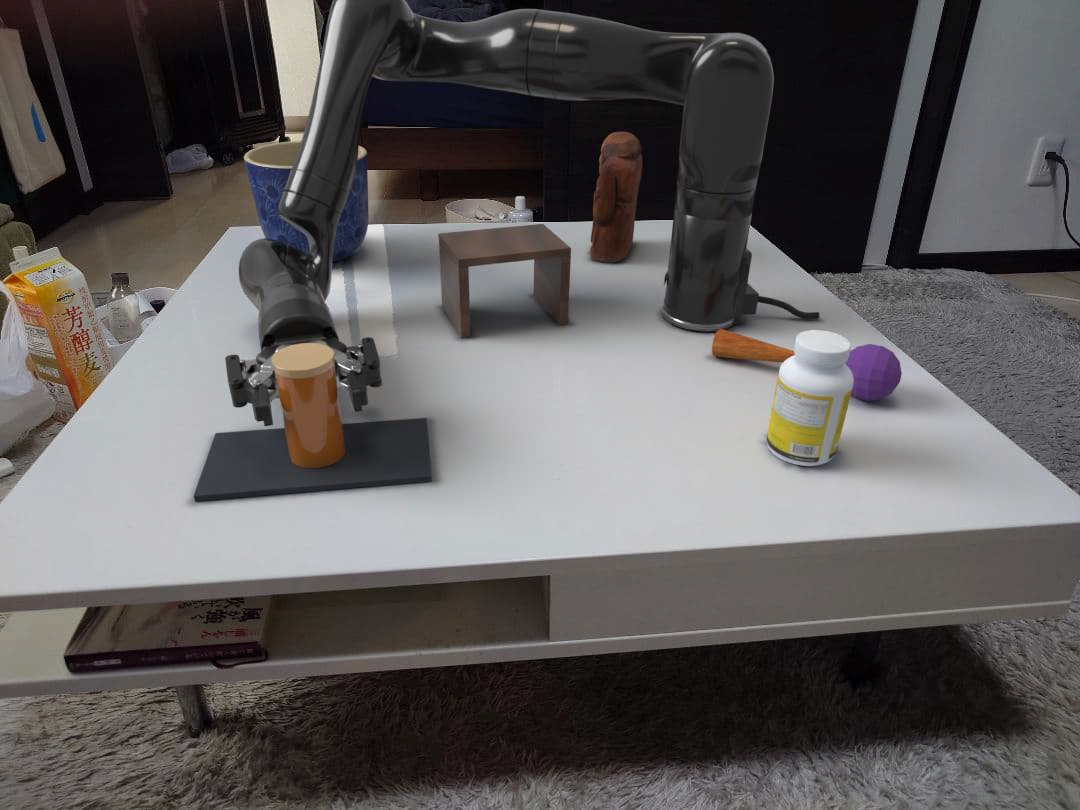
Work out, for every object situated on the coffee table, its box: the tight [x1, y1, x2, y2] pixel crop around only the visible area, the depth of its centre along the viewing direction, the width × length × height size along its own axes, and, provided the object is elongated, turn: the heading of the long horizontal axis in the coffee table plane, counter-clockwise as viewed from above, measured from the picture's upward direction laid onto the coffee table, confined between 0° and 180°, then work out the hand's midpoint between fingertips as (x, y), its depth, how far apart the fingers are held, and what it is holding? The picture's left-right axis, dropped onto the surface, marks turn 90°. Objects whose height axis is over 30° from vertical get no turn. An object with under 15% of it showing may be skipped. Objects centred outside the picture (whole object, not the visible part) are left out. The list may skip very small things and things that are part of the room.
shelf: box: [438, 223, 572, 339], centre depth 97 cm, size 14×10×10 cm
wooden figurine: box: [589, 131, 643, 263], centre depth 117 cm, size 12×6×18 cm, turn 165°
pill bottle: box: [765, 329, 854, 467], centre depth 71 cm, size 6×6×12 cm
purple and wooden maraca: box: [711, 329, 903, 402], centre depth 85 cm, size 6×6×20 cm
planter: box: [243, 140, 370, 263], centre depth 114 cm, size 17×17×15 cm
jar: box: [271, 343, 346, 468], centre depth 69 cm, size 5×5×10 cm
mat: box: [193, 417, 433, 502], centre depth 71 cm, size 20×10×1 cm, turn 100°
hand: (313, 409), depth 66 cm, fingers open, 7 cm apart
